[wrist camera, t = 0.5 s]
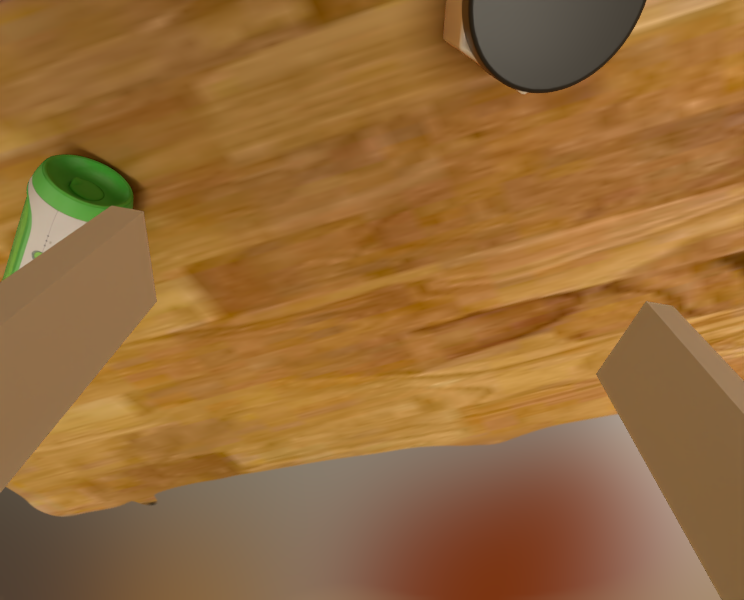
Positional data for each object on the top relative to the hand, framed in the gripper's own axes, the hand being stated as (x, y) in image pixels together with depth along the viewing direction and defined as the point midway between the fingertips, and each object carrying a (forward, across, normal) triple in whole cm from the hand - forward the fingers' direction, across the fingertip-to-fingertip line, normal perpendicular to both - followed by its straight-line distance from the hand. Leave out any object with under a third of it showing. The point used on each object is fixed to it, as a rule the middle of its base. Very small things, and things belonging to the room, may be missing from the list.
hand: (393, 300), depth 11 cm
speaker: (+27, -27, -17) cm, 42 cm away
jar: (+27, +6, +8) cm, 29 cm away
